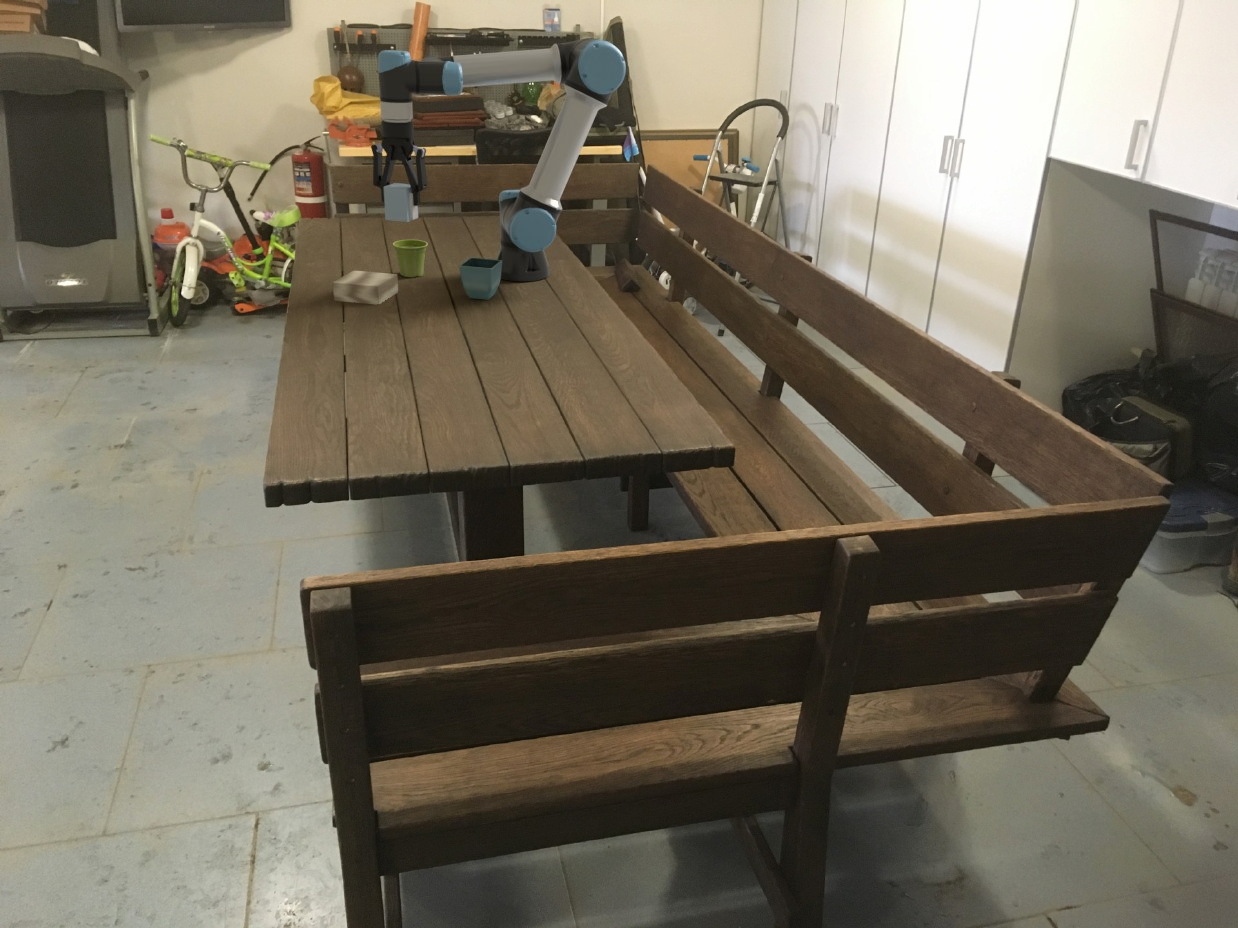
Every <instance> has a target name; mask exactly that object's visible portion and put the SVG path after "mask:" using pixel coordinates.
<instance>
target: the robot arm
mask: <svg viewBox="0 0 1238 928" xmlns="http://www.w3.org/2000/svg"><path fill="white" fill-rule="evenodd" d="M623 55H624V54H623V53H622V52H621V50H620V49H619V48H618V47H617V46H615V45H614V44H612V43H611V42H610V41H606V40H605V39H598V38H595V37H594V38H592V37H591V38H589V37H588V38H587V37H586V38H582V39H578V40H573V41H569V42H562V43H554V44H553V45H552V46H551V47H550V48H542V49H541V48H540V49H527V50H514V51H513V50H512V51H501V52H498V51H497V52H487V53H474V54H473V53H472V54H464V55H462V54H459V55H450V56H449V55H446V56H435V55H430V56H426V57H424V58H423V59H422V60H416V59H415V60H414V59H412V57H411V54H410V52H409V51H406V50H395V49H388V50H387V49H385V50H384V49H383V50H381V51H380V52H379V53H378V60H377V61H378V62H377V63H378V67H377V68H378V71H377V72H378V86H379V87H378V88H379V100H380V103H379V105H380V118H381V119H382V121H381V122H380V124H381V126H380V127H381V137H382V140H381V143H374V144H371V145H370V146H371V147H370V149H371V152H372V156H373V157H372V160H373V161H372V165H373V166H372V168H373V169H372V175H373V178H372V180H373V181H372V183H373V186H374V187H377V188H379V189H380V194H381V195H380V196H381V201H382V203H384V186H387V185H390V184H391V180H392V176H393V171H394V167H395V163H396V162H397V161H399V162H401V164H402V166H403V167H404V170H405V173H406V177H407V180H408V183H409V184H410V186H411V190H412V191H411V192H410V193H409V200H410V220H411V221H413V220H416V219H418V218H419V209H418V210H417V206H418V207H419V206H420V205H421V192H423V191H425V190H427V189H428V181H427V170H426V160H425V157H426V153H427V149H426V148H425V147H422V148H421V147H419V146H417V145H416V143H415V141H414V137H415V135H414V131H415V129H414V122H413V121H411V120H412V119H414V112H413V110H414V109H413V95H430V96H432V95H433V96H447V97H449V96H459V95H461V94H462V92H463V88H470V87H483V86H496V85H497V86H498V85H511V84H523V83H534V82H537V83H538V82H549V81H554V82H555V83H556V84H557V85H562V84H563V86H564V87H563V88H564V90H565V92H566V96H565V98H564V101H563V103H562V106H561V108H560V110H559V113H558V115H557V118H556V119H555V122H554V124H553V126H552V129H551V131H550V135H549V136H548V139H547V142H546V144H545V147H544V149H543V151H542V153H541V156H540V158H539V160H538V162H537V165H536V168H535V170H534V172H533V175H532V178H531V179H530V182H529V184H528V185H526V186H524V187H521V188H520V189H508V190H502V191H501V192H500V193H499V196H498V198H499V199H498V204H499V205H498V206H499V227H500V228H499V232H500V233H499V237H500V238H499V239H500V245H499V246H500V248H499V251H498V254H497V257H496V260H502V270H501V279H500V280H505V281H511V282H531V281H533V282H534V281H540V280H544V279H546V278H549V276H550V265H549V262H548V258H547V256H546V255H547V254H546V253H545V250H546V249H547V248H548V247H549V246H550V245H551V244H552V243H553V241H554V240H555V238H556V234H557V221H558V219H559V217H560V214H561V212H562V210H563V207H562V204H561V197H562V195H563V193H564V190H565V188H566V186H567V183H568V181H569V179H570V176H571V174H572V172H573V169H574V167H575V164H576V163H577V161H578V158H579V155H580V153H581V151H582V149H583V146H584V145H585V142H586V140H587V137H588V135H589V132H590V131H591V128H592V126H593V123H594V120H595V118H596V116H597V115H598V112H599V111H600V110H601V109H604V108H606V107H607V106H608V104H609V102H610V100H611V97H612V95H613V92H615V91H616V90H617V89H618V88H619V87H620V86H621V85H622V83H623V81H624V79H625V76H626V72H627V68H626V67H627V65H626V61H625V58H624V56H623ZM383 151H384V153H386V155H385V160H384V162H385V164H384V168H383ZM413 153H414V156H415V165H416V167H415V166H414V160H413V157H412V155H413ZM415 168H416V170H415Z"/></svg>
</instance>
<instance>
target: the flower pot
mask: <svg viewBox="0 0 1238 928" xmlns="http://www.w3.org/2000/svg"><path fill="white" fill-rule="evenodd" d="M458 267H459V272H460V278H461V279H460V280H461V284H462V287H463V289H464V292H465V293H466V295H467V296H468V297H469V299H477V300H487V301H488V300H490V299H491V298H492V297H493V296H494V295H495V294H496V292H497V290H498V288H499V286H500V282H501V280H502V279H501V270H502V260H497V259H491V258H483V257H482V258H481V257H468V259H467V260H465V261H463V262H462V263H461V264H460V265H459V266H458Z"/></svg>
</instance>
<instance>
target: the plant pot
mask: <svg viewBox="0 0 1238 928" xmlns="http://www.w3.org/2000/svg"><path fill="white" fill-rule="evenodd" d="M428 245H429V243H428V242H427V241H424V240H420V239H401V240H396V241H394V242H393V243H392V246H393V247H394V251H395V252H396V257H397V258H396V259H397V262H398V267H399V273H400V275H401V276H402V277H405V278H415V277H422V276H424V270H425V268H424V267H425V258H426V257H425V256H426V251H427V247H428Z"/></svg>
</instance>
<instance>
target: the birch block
mask: <svg viewBox="0 0 1238 928" xmlns="http://www.w3.org/2000/svg"><path fill="white" fill-rule="evenodd" d="M332 290H333V299H334V302H345V303H354V302H355V303H356V304H364V305H365V304H367V305H368V304H369V305H377V304H380V305H381V304H382V302H383V303H385V302H386V301H387V300H389V299H390V298H391V297H393V296H394V295H396V294H397V293H399V279H398V273H388V272H387V273H386V272H376V271H364V270H352V271H350V272H348V273H347V274H345V275H343V276H341V277H340V278H338V279H337V280H334V281H333V282H332ZM388 298H389V299H388ZM385 300H386V301H385Z"/></svg>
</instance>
